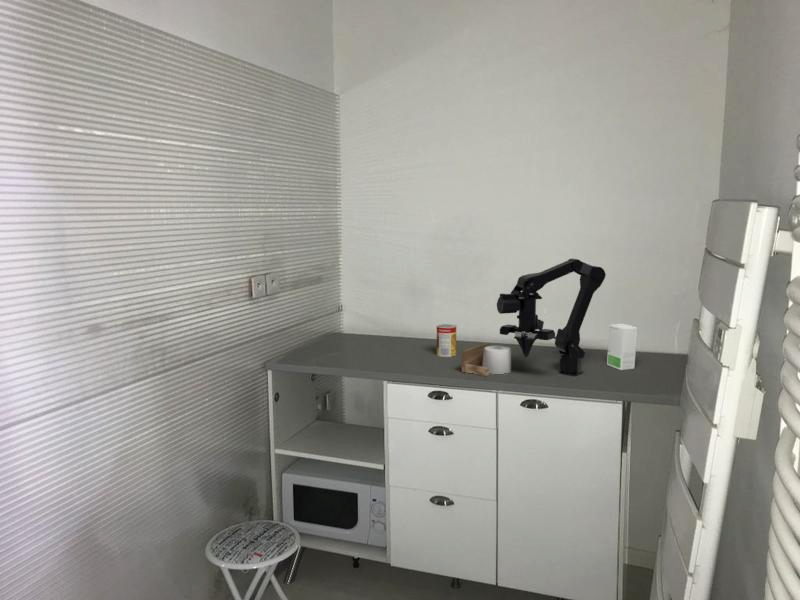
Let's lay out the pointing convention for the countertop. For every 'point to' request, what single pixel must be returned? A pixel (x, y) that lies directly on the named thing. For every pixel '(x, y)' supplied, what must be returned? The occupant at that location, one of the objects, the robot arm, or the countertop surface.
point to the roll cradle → (474, 360)
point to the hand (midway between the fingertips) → (526, 356)
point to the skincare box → (622, 346)
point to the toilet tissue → (497, 359)
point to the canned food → (446, 340)
